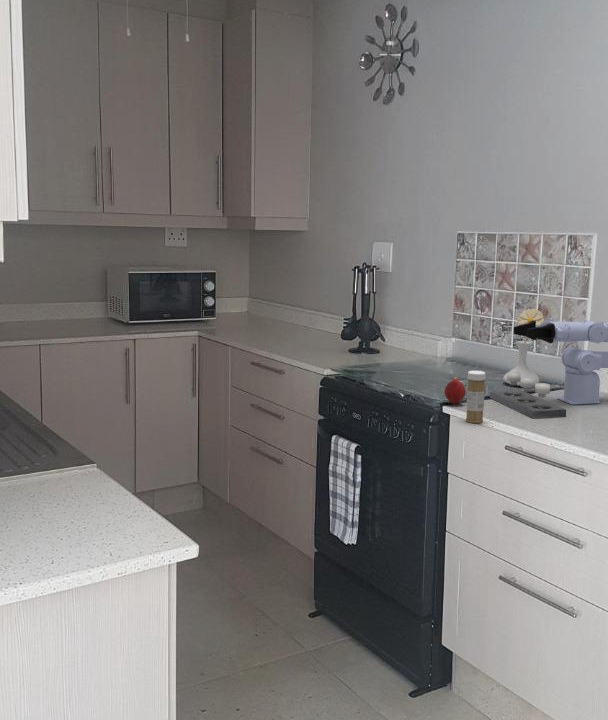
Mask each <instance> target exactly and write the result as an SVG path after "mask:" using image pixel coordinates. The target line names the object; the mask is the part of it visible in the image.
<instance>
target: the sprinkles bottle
mask: <svg viewBox="0 0 608 720" xmlns="http://www.w3.org/2000/svg"><path fill="white" fill-rule="evenodd" d="M485 382H486V372H485V371H483V370H482V371H481V370H469V371H468V372H467V390H466V392H467V393H466V394H467V395H466V415H465V416H466V418H465V422H468V423H470V424H471V423H472V424H481V423H483V422H484V419H483V418H484V417H483V416H484V406H485Z"/></svg>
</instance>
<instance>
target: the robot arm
mask: <svg viewBox="0 0 608 720" xmlns="http://www.w3.org/2000/svg"><path fill="white" fill-rule="evenodd" d="M513 334H514V335H516V336H520V337H524V336H525V337H526V338H529V339H530V340H532V341H537V340H536V339H541V340H542V341H544V342H546V343H548V344H553V343H554V342H555V343H556V342H557V343H558V342H559V343H562V342H563V343H564V342H565V343H566V342H572V343H573V342H576V343H577V342H591V343H595V344H600V343H608V322H605V321H604V320H598V321H597V322H596V321H590V320H587V319H585V320H582V321H553V318H552V317H547V318H546V321H545V322H544V321H543V323H542V324H540V325H539V326H536V321H534V320H533V321H530V322H529V323H527V324H524V325H516V326H514V327H513ZM513 334H512V335H513ZM541 340H540V341H541ZM561 362H562V364H563V365H564V370H565V373H564V386H563V387H564V388H563V396H557V399H558V400H560V401H561V402H565V403H567V404H570V405H573V406H574V405H589V404H600V403H601V401H600V400H599V399H600V387H601V378H600V375H599V374H598V373H597V372H596V371H600V370H601V369H608V351H595V350H594V351H593V350H586V349H585V350H584V349H581V348H578V347H576V346H568V347H567V348H565V350H563V351H562V353H561Z"/></svg>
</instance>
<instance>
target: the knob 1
mask: <svg viewBox="0 0 608 720" xmlns="http://www.w3.org/2000/svg"><path fill="white" fill-rule="evenodd" d="M506 374H507V381H510V384H509V385H510V386H518V385H517V382H520V381H521V373H518V372H509V371H507V372H506Z"/></svg>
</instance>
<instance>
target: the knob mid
mask: <svg viewBox="0 0 608 720" xmlns="http://www.w3.org/2000/svg"><path fill="white" fill-rule="evenodd" d="M520 387H521V388H523V391H524V392H531V390H532V389H533V388H534V389H535V379H534V378H529V377H523V378H521V381H520Z"/></svg>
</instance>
